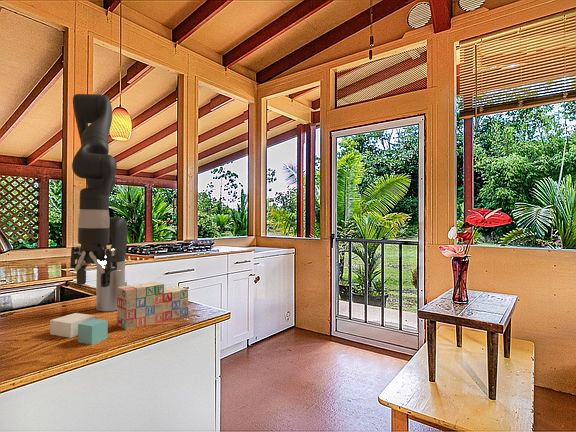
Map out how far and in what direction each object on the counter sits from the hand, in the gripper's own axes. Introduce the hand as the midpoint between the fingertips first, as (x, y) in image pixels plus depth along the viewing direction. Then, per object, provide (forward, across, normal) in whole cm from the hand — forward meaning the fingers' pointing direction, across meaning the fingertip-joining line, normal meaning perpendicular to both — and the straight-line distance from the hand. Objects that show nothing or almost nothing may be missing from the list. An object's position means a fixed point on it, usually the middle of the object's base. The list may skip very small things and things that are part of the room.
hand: (93, 285), depth 95 cm
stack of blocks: (+15, -3, -21) cm, 26 cm away
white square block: (+15, +11, -3) cm, 19 cm away
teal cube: (+15, 0, 0) cm, 15 cm away
